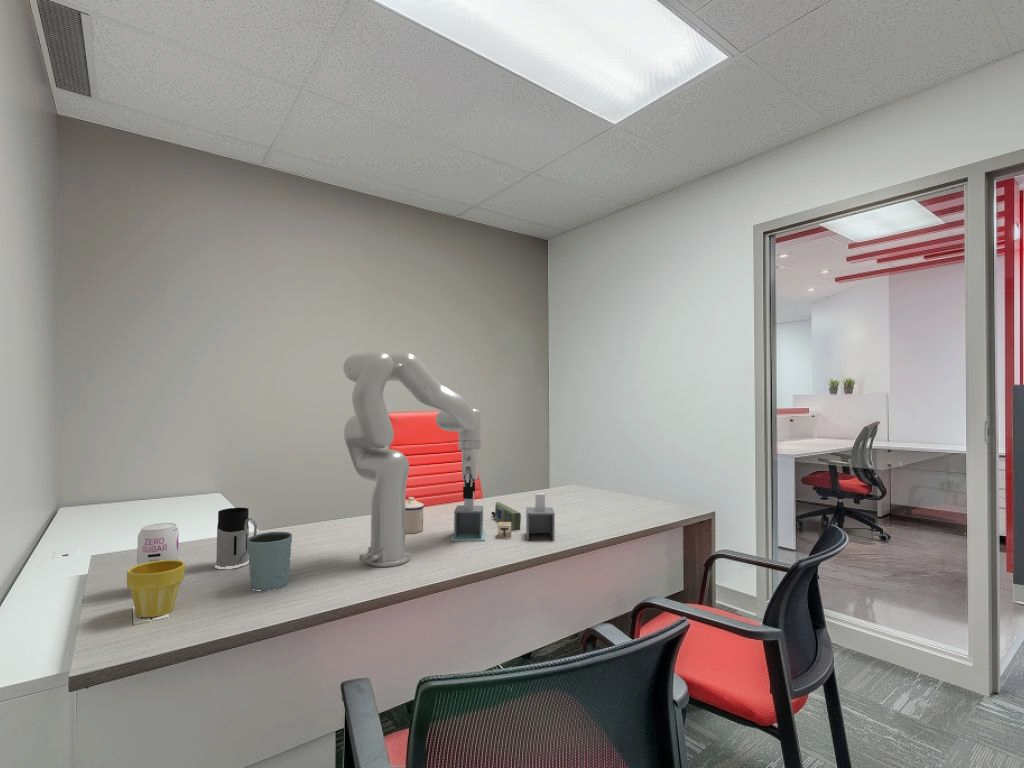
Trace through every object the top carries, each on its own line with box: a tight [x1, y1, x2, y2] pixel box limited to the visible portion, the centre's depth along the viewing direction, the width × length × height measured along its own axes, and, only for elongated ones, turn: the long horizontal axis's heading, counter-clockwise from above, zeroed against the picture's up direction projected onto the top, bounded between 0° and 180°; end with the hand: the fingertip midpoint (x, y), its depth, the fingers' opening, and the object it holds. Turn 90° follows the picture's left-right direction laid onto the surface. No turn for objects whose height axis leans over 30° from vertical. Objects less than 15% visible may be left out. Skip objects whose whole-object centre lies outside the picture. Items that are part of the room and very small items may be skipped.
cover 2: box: [525, 492, 556, 541], centre depth 174 cm, size 9×9×14 cm
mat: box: [450, 530, 487, 542], centre depth 174 cm, size 11×11×1 cm
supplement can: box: [136, 522, 180, 566], centre depth 125 cm, size 8×8×15 cm
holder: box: [215, 507, 258, 567], centre depth 142 cm, size 9×14×15 cm, turn 62°
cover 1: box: [453, 491, 484, 539], centre depth 174 cm, size 9×9×14 cm
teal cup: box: [247, 531, 293, 592], centre depth 128 cm, size 10×10×12 cm
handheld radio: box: [490, 501, 522, 531], centre depth 193 cm, size 7×3×25 cm
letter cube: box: [497, 521, 512, 539], centre depth 174 cm, size 5×4×4 cm
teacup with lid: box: [405, 496, 425, 535], centre depth 182 cm, size 12×9×12 cm
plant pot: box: [126, 559, 186, 618], centre depth 112 cm, size 10×10×10 cm
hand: (469, 495), depth 174 cm, fingers open, 9 cm apart
